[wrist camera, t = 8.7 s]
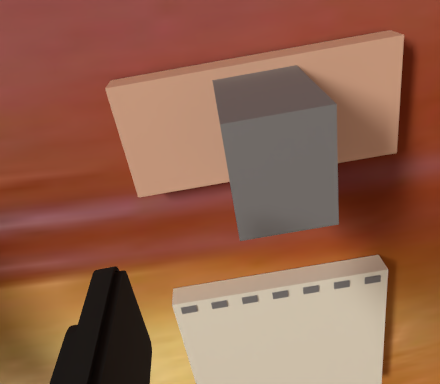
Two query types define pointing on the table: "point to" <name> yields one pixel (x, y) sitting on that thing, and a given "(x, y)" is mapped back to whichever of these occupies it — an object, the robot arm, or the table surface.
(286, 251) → the table surface
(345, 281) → the white notepad
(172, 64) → the table surface
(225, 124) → the stub
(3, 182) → the table surface
